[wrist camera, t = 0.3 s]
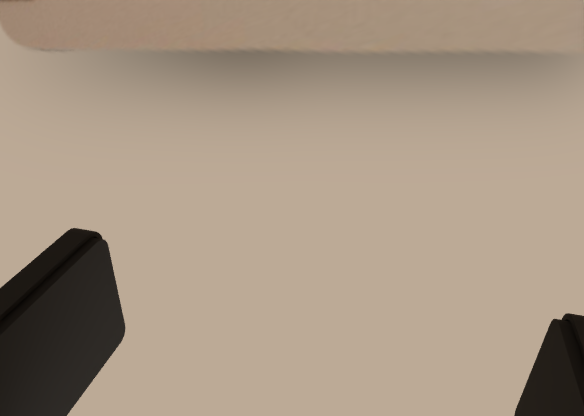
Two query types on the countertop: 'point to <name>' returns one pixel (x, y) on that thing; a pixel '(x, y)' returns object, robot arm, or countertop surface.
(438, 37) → the countertop surface
